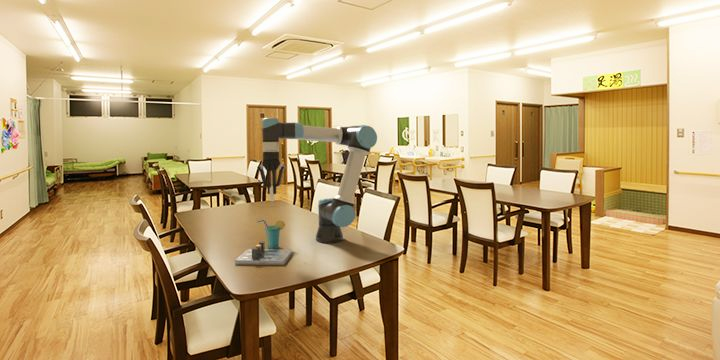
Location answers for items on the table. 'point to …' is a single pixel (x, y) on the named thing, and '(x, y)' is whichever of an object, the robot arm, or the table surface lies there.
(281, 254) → the panel
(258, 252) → the block
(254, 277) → the table surface
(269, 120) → the robot arm
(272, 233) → the cup
